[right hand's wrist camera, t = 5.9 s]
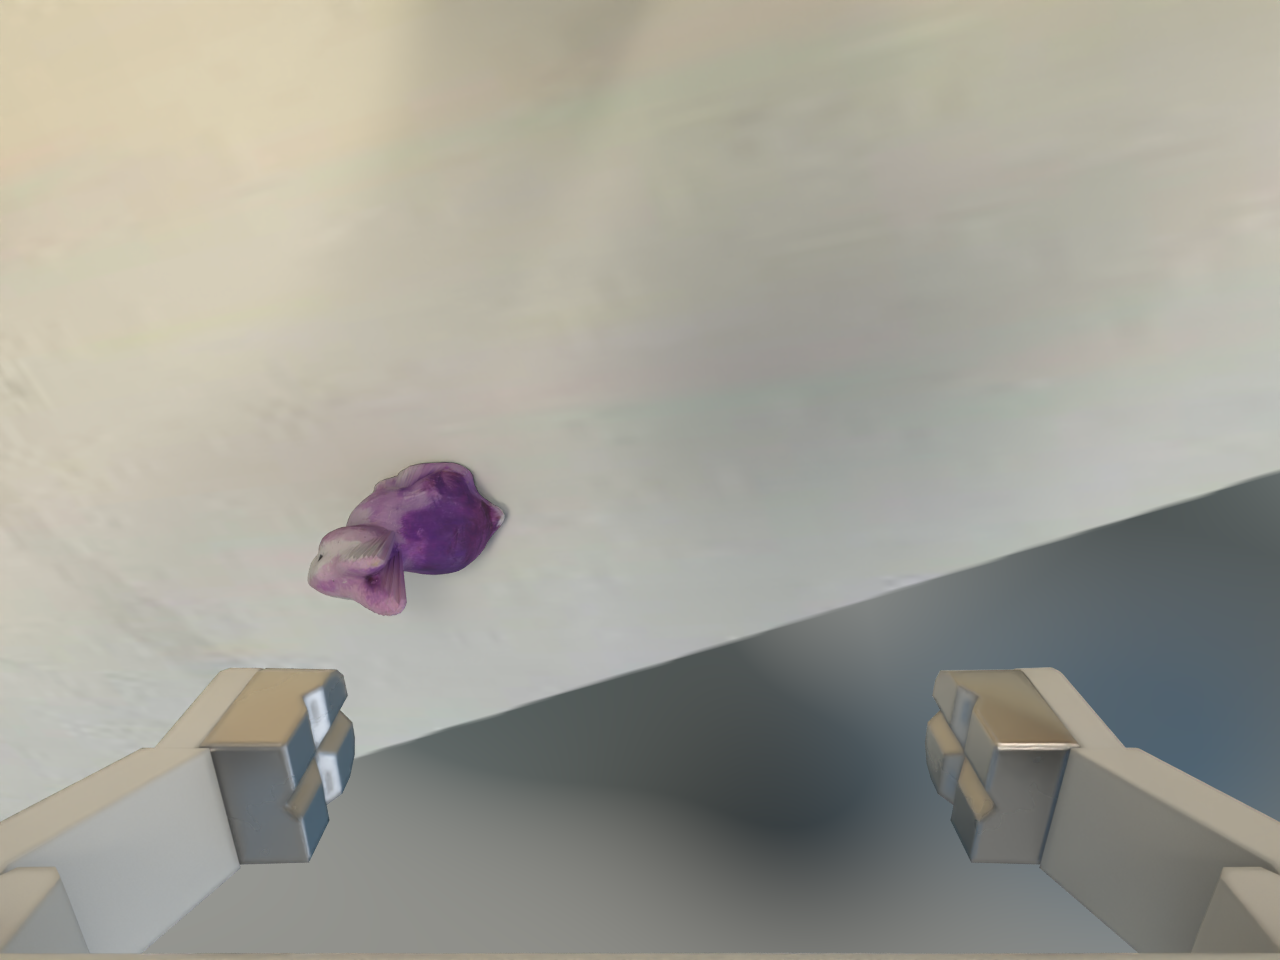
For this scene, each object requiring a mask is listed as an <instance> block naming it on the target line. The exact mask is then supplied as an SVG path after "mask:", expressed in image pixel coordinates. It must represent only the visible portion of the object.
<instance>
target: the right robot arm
mask: <svg viewBox="0 0 1280 960" xmlns="http://www.w3.org/2000/svg"><path fill="white" fill-rule="evenodd" d="M347 696H348V695H347V690H346V685H345V681H344V676H343V675H342V674H341V673H340V672H339V671H338V670H332V669H286V668H265V669H262V668H228V669H226V670H223V671H220V672H219V673H218V674H217V675H216V676H215V678H214V679H213V680H212V681H211V682H210V683H209V685H208V686H207V687H206V688H205V689H204V690H203V692H202V693H201V694H200V695H199V696H198V697H197V699H196V700H195V701H194V702H193V703H192V704H191V706H190V707H189V708H188V709H187V710H186V711H185V713H184V714H183V715H182V716H181V717H180V718H179V720H178V721H177V722H176V723H175V724H174V726H173V727H172V728H171V729H170V730H169V731H168V733H167V734H166V735H165V736H164V737H163V738H162V740H161V741H160V742H159V743H158V744H157V745H156V747H155V748H141V749H139V750H137V751H136V752H134V753H132V754H130V755H128V756H126V757H124V758H122V759H120V760H118V761H116V762H114V763H113V764H111V765H109V766H107V767H105V768H103V769H101V770H99V771H97V772H95V773H93V774H91V775H89V776H88V777H86V778H84V779H82V780H80V781H78V782H76V783H74V784H72V785H70V786H68V787H66V788H65V789H63V790H61V791H59V792H57V793H55V794H53V795H51V796H49V797H47V798H45V799H43V800H42V801H40V802H38V803H36V804H34V805H32V806H30V807H28V808H26V809H24V810H22V811H20V812H19V813H17V814H15V815H13V816H11V817H9V818H7V819H5V820H3V821H1V822H0V960H1280V822H1278V821H1276V820H1275V819H1273V818H1271V817H1269V816H1267V815H1265V814H1263V813H1261V812H1259V811H1257V810H1255V809H1253V808H1252V807H1250V806H1248V805H1246V804H1244V803H1242V802H1240V801H1238V800H1236V799H1234V798H1232V797H1231V796H1229V795H1227V794H1225V793H1223V792H1221V791H1219V790H1217V789H1215V788H1213V787H1211V786H1209V785H1208V784H1206V783H1204V782H1202V781H1200V780H1198V779H1196V778H1194V777H1192V776H1190V775H1188V774H1186V773H1185V772H1183V771H1181V770H1179V769H1177V768H1175V767H1173V766H1171V765H1169V764H1167V763H1165V762H1164V761H1162V760H1160V759H1158V758H1156V757H1154V756H1152V755H1150V754H1148V753H1146V752H1144V751H1143V750H1141V749H1139V748H1125V747H1124V745H1123V744H1122V743H1121V742H1120V741H1119V740H1118V738H1117V737H1116V736H1115V735H1114V734H1113V733H1112V731H1111V730H1110V729H1109V728H1108V727H1107V726H1106V724H1105V723H1104V722H1103V721H1102V720H1101V719H1100V717H1099V716H1098V715H1097V714H1096V713H1095V712H1094V710H1093V709H1092V708H1091V707H1090V706H1089V705H1088V703H1087V702H1086V701H1085V700H1084V699H1083V698H1082V696H1081V695H1080V694H1079V693H1078V692H1077V691H1076V689H1075V688H1074V687H1073V686H1072V685H1071V684H1070V682H1069V681H1068V680H1067V679H1066V678H1065V676H1064V675H1063V674H1062V673H1061V672H1060V671H1058V670H1056V669H1054V668H1019V669H1014V670H940V672H939V674H938V676H937V678H936V680H935V684H934V689H933V695H932V696H933V698H934V699H935V701H936V703H937V705H938V707H939V709H940V711H939V712H938V713H937V714H936V715H935V716H934V717H933V718H932V719H931V720H930V721H929V722H928V724H927V731H926V739H925V749H926V761H927V766H928V770H929V773H930V777H931V780H932V782H933V784H934V786H935V789H936V791H937V793H938V794H939V795H940V796H942V797H943V798H944V799H946V800H947V801H949V802H950V803H951V804H953V810H952V816H951V822H952V824H953V826H954V828H955V830H956V832H957V834H958V836H959V838H960V840H961V842H962V845H963V846H964V848H965V851H966V853H967V855H968V857H969V859H970V861H971V862H973V863H1008V864H1040V868H1041V869H1042V870H1043V871H1044V872H1045V873H1046V874H1047V875H1049V876H1050V877H1051V878H1052V879H1053V880H1054V881H1055V882H1057V883H1058V884H1059V885H1060V886H1061V887H1062V888H1064V889H1065V890H1066V891H1067V892H1068V893H1069V894H1071V895H1072V896H1073V897H1074V898H1075V899H1076V900H1078V901H1079V902H1080V903H1081V904H1082V905H1083V906H1084V907H1086V908H1087V909H1088V910H1089V911H1090V912H1091V913H1093V914H1094V915H1095V916H1096V917H1097V918H1098V919H1100V920H1101V921H1102V922H1103V923H1104V924H1105V925H1107V926H1108V927H1109V928H1110V929H1111V930H1112V931H1113V932H1115V933H1116V934H1117V935H1118V936H1119V937H1120V938H1122V939H1123V940H1124V941H1125V942H1126V943H1127V944H1129V945H1130V946H1131V947H1132V948H1133V949H1134V950H1136V951H1137V952H1138V953H142V952H143V951H145V950H146V949H147V948H148V947H149V946H150V945H152V944H153V943H154V942H155V941H156V940H157V939H159V938H160V937H161V936H162V935H163V934H164V933H166V932H167V931H168V930H169V929H170V928H171V927H173V926H174V925H175V924H176V923H177V922H178V921H180V920H181V919H182V918H183V917H184V916H185V915H187V914H188V913H189V912H190V911H191V910H192V909H193V908H195V907H196V906H197V905H198V904H199V903H200V902H202V901H203V900H204V899H205V898H206V897H207V896H209V895H210V894H211V893H212V892H213V891H214V890H215V889H217V888H218V887H219V886H220V885H221V884H223V883H224V882H225V881H226V880H227V879H228V878H229V877H231V876H232V875H233V874H234V873H235V872H236V871H238V870H239V869H240V864H271V863H304V862H309V861H310V859H311V857H312V855H313V853H314V851H315V849H316V847H317V845H318V843H319V841H320V838H321V836H322V834H323V832H324V830H325V828H326V826H327V824H328V822H329V816H328V810H327V804H329V803H330V802H331V801H333V800H334V799H335V798H337V797H338V796H340V795H341V794H342V793H343V791H344V788H345V786H346V784H347V782H348V780H349V778H350V774H351V769H352V764H353V760H354V755H355V736H354V730H353V724H352V722H351V721H350V720H349V719H348V718H347V717H346V716H345V715H344V714H343V713H342V712H341V711H340V709H341V707H342V705H343V703H344V701H345V699H346V698H347Z"/></svg>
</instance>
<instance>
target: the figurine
mask: <svg viewBox="0 0 1280 960" xmlns="http://www.w3.org/2000/svg"><path fill="white" fill-rule="evenodd" d="M504 518H505V516H504V513H503V511H502V510H501V509H500V508H499V507H498V506H496V505H494V504H492V503H491V502H489V501H488V500H486V499H485V498H483V497H482V496H481V495H480V494H479V493H478V491H477V489H476V487H475V485H474V481H473V475H472V474H471V472H470V471H469V470H468V469H467V468H465V467H463V466H461V465H459V464H456V463H446V462H443V463H423V464H418V465H413V466H409V467H408V468H406V469H404V470H402V471H401V472H400V473H399V474H398V476H394V477H393V478H389V479H385V480H383V481H380V482H379V483H377V484H376V486H375V487H374V491H373V493H372V494H371V495H369V496H368V497H367V498H366V499H364V500H363V501H362V502H361V503H360V504H359V505H358V506H357V507H356V508H355V509H354V510H353V512H352V513H351V515H350V517H349V519H348V522H347V525H346V527H341V528H338V529H336V530H334V531H332V532H330V533H328V534H327V535H326V536H325V537H324V538H323V539H322V541H321V543H320V545H319V552H318V555H317V556H316V557H315V558H314V560H313V561H312V563H311V565H310V569H309V573H308V583H309V585H310V586H311V587H313V588H314V589H316V590H317V591H319V592H321V593H323V594H325V595H328V596H332V597H336V598H342V599H348V600H354V601H356V602H358V603H360V604H361V605H363V606H364V607H365V608H368V609H369V610H371V611H373V612H374V613H378V614H381V615H383V616H384V615H387V616H392V615H397V614H399V613H401V612H402V611H403V609H404V608H405V606H406V603H407V601H406V591H405V581H404V571H408V572H414V573H420V574H430V575H438V574H447V573H453V572H456V571H459V570H461V569H463V568H464V567H466V566H467V565H469V564H470V563H471V562H472V561H473V560H475V559H476V558H477V557H478V556H479V555H480V553H481V552H482V551H483V549H484V548H485V546H486V544H487V542H488V541H489V539H490V538H491V536H492V535H493V534H494V532H495V531H496V530H497V529H498V528H499V527H500V526H501V525H502V523H503V521H504Z"/></svg>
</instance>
